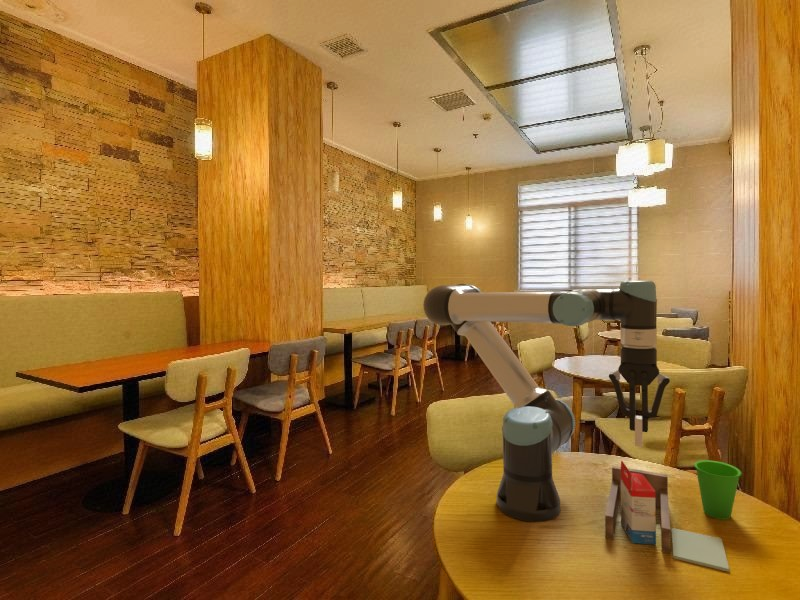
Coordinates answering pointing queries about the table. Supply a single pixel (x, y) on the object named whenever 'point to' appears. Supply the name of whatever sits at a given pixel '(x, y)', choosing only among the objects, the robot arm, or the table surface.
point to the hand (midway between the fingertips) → (638, 444)
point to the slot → (661, 501)
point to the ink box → (637, 507)
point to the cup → (717, 487)
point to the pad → (699, 549)
